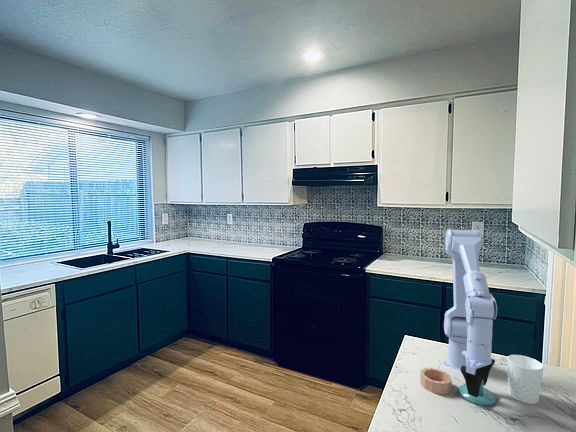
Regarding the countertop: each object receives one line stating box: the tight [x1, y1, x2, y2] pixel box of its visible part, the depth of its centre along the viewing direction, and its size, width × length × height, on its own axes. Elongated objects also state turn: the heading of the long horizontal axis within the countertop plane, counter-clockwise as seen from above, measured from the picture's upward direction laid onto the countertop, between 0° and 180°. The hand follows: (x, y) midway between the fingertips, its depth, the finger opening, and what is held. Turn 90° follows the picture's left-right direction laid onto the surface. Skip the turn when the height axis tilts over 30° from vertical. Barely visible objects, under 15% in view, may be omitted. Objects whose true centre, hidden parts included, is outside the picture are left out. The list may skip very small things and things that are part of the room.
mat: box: [452, 382, 502, 412], centre depth 88 cm, size 9×9×1 cm
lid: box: [458, 380, 496, 406], centre depth 88 cm, size 9×9×5 cm
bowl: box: [419, 367, 453, 395], centre depth 93 cm, size 8×8×3 cm
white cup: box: [506, 354, 544, 405], centre depth 88 cm, size 8×8×10 cm
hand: (477, 389), depth 88 cm, fingers open, 7 cm apart
